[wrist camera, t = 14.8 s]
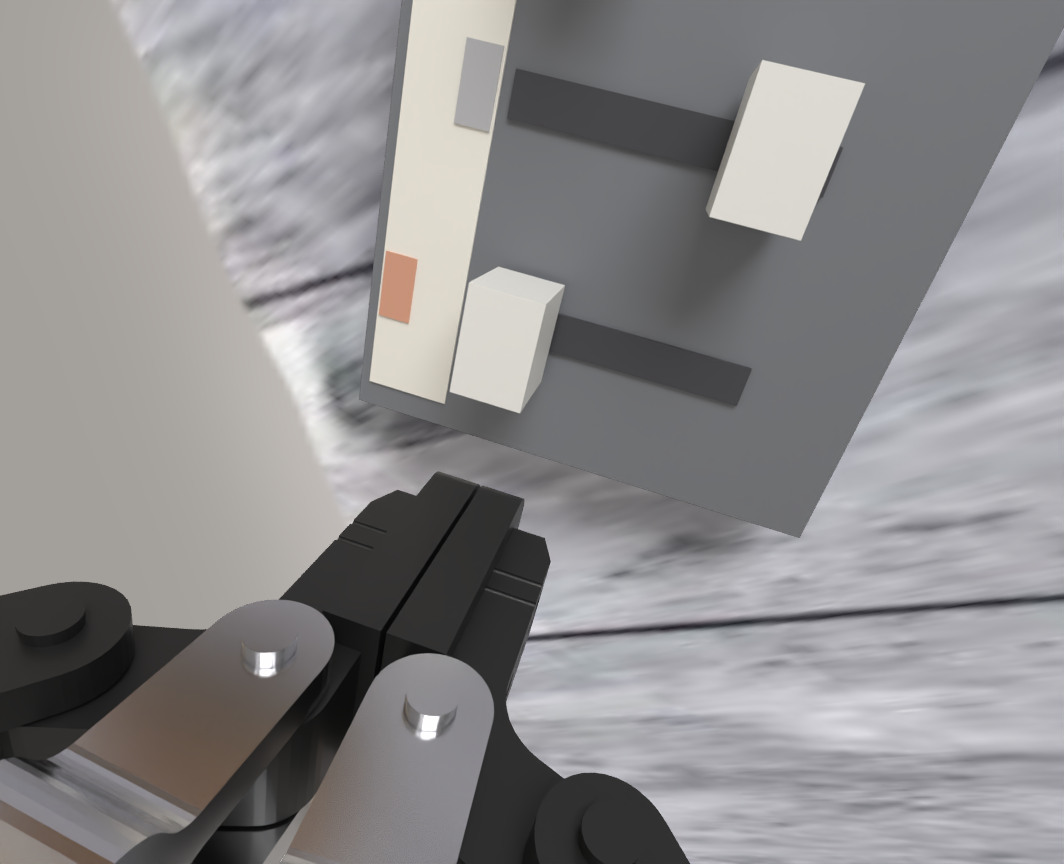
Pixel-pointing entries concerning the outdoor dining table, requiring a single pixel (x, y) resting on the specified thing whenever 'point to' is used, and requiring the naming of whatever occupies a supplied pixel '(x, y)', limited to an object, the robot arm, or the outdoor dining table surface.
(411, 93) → the panel
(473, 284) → the switch tab
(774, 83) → the switch tab
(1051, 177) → the outdoor dining table surface
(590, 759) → the outdoor dining table surface
